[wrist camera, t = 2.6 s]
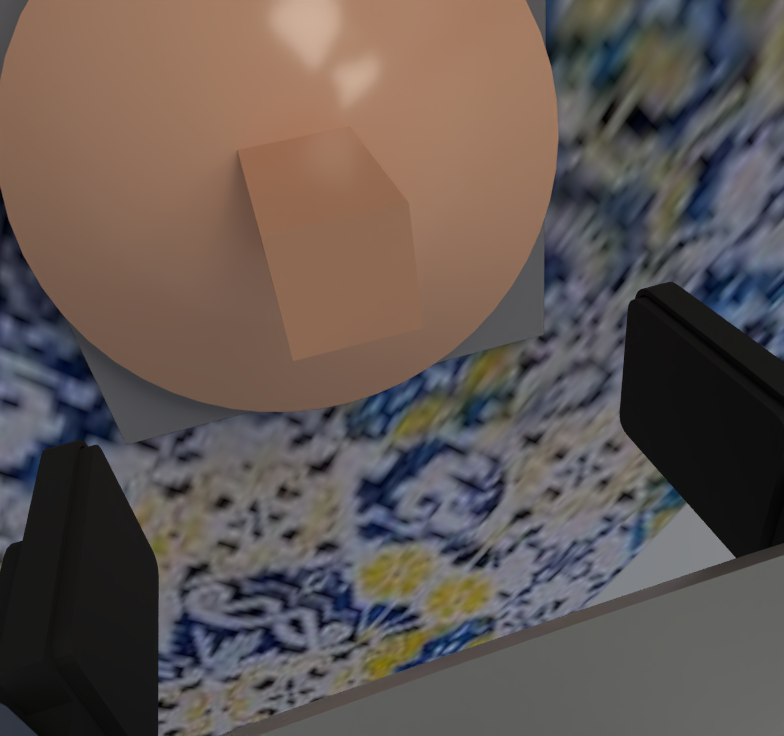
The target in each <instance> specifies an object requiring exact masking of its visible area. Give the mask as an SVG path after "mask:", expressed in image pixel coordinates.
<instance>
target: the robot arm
mask: <svg viewBox="0 0 784 736" xmlns="http://www.w3.org/2000/svg"><path fill="white" fill-rule="evenodd" d="M620 422H621V425H622V427H623V429H624V431H625V433H626V434H627V435H628V437H629V438H630V439H631V440H632V441H633V442H634V443H635V444H636V446H637V447H638V448H639V449H640V450H641V451H642V452H643V453H644V455H645V456H646V457H647V458H648V459H649V460H650V461H651V462H652V464H653V465H654V466H655V467H656V468H657V469H658V470H659V472H660V473H661V474H662V475H663V476H664V477H665V478H666V479H667V481H668V482H669V483H670V484H671V485H672V486H673V487H674V488H675V490H676V491H677V492H678V493H679V494H680V495H681V496H682V497H683V499H684V500H685V501H686V502H687V503H688V504H689V505H690V506H691V508H692V509H694V511H695V512H696V513H697V514H698V515H699V517H700V518H701V519H702V520H703V521H704V522H705V523H706V525H707V526H708V527H709V528H710V529H711V530H712V531H713V532H714V534H715V535H716V536H717V537H718V538H719V539H720V540H721V541H722V543H723V544H724V545H725V546H726V547H727V548H728V549H729V550H730V552H731V553H732V554H733V555H734V556H735V557H736V559H733V560H730V561H727V562H724V563H721V564H718V565H715V566H712V567H709V568H706V569H703V570H700V571H697V572H694V573H691V574H688V575H685V576H682V577H679V578H676V579H673V580H670V581H667V582H664V583H661V584H658V585H655V586H652V587H649V588H646V589H643V590H640V591H637V592H634V593H631V594H628V595H625V596H622V597H619V598H616V599H613V600H610V601H607V602H604V603H601V604H598V605H595V606H592V607H589V608H586V609H583V610H580V611H577V612H574V613H571V614H568V615H565V616H562V617H559V618H556V619H554V620H551V621H548V622H545V623H542V624H539V625H536V626H533V627H530V628H527V629H524V630H521V631H518V632H515V633H512V634H509V635H506V636H503V637H500V638H497V639H495V640H492V641H489V642H486V643H483V644H480V645H477V646H474V647H471V648H468V649H465V650H462V651H459V652H456V653H453V654H450V655H447V656H445V657H442V658H439V659H436V660H433V661H430V662H427V663H424V664H421V665H418V666H416V667H413V668H410V669H407V670H404V671H401V672H398V673H395V674H392V675H389V676H387V677H384V678H381V679H378V680H375V681H372V682H369V683H366V684H363V685H360V686H357V687H355V688H352V689H349V690H346V691H343V692H340V693H337V694H334V695H331V696H328V697H326V698H323V699H320V700H317V701H314V702H311V703H308V704H305V705H302V706H299V707H297V708H294V709H291V710H288V711H285V712H283V713H280V714H277V715H274V716H272V717H269V718H266V719H263V720H261V721H258V722H255V723H252V724H249V725H247V726H244V727H241V728H238V729H236V730H233V731H230V732H227V733H225V734H222V735H219V736H784V362H783V361H781V360H780V359H779V358H777V357H776V356H774V355H773V354H772V353H770V352H769V351H768V350H766V349H765V348H763V347H762V346H761V345H759V344H758V343H757V342H755V341H754V340H752V339H751V338H750V337H748V336H747V335H746V334H744V333H743V332H742V331H740V330H739V329H737V328H736V327H735V326H733V325H732V324H731V323H729V322H728V321H726V320H725V319H724V318H722V317H721V316H720V315H718V314H717V313H715V312H714V311H713V310H711V309H710V308H709V307H707V306H706V305H704V304H703V303H702V302H700V301H699V300H698V299H696V298H695V297H693V296H692V295H691V294H689V293H688V292H687V291H685V290H684V289H682V288H681V287H680V286H678V285H677V284H675V283H673V282H667V283H663V284H659V285H655V286H652V287H648V288H644V289H641V290H640V291H638V292H637V294H636V297H635V299H634V300H632V301H630V303H629V306H628V315H627V327H626V340H625V353H624V365H623V378H622V390H621V403H620ZM158 601H159V575H158V566H157V562H156V558H155V555H154V553H153V551H152V549H151V547H150V545H149V543H148V541H147V539H146V537H145V535H144V533H143V531H142V529H141V527H140V525H139V523H138V521H137V519H136V517H135V515H134V513H133V511H132V509H131V507H130V505H129V503H128V501H127V499H126V497H125V495H124V493H123V491H122V489H121V487H120V485H119V483H118V481H117V479H116V477H115V475H114V473H113V471H112V469H111V467H110V465H109V463H108V461H107V459H106V457H105V455H104V453H103V451H102V450H101V448H100V447H99V446H98V445H93V446H89V447H88V446H87V444H86V443H85V442H84V441H83V440H77V441H73V442H69V443H65V444H62V445H58V446H54V447H51V448H47V449H45V450H43V452H42V455H41V459H40V464H39V468H38V473H37V477H36V482H35V487H34V491H33V496H32V500H31V505H30V509H29V514H28V519H27V523H26V528H25V532H24V537H23V541H20V542H17V543H13V544H11V545H10V546H9V547H8V548H7V550H6V553H5V555H4V558H3V562H2V566H1V570H0V736H158Z"/></svg>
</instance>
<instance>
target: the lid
mask: <svg viewBox="0 0 784 736" xmlns="http://www.w3.org/2000/svg"><path fill="white" fill-rule="evenodd" d="M558 138H559V134H558V111H557V98H556V93H555V87H554V81H553V75H552V69H551V65H550V62H549V58H548V55H547V52H546V49H545V45H544V42H543V39H542V36H541V32H540V30H539V28H538V26H537V24H536V21H535V19H534V17H533V15H532V13H531V11H530V8H529V6H528V4H527V2H526V0H29V1H28V2H27V4H26V6H25V8H24V9H23V11H22V13H21V15H20V17H19V20H18V23H17V25H16V28H15V31H14V34H13V36H12V39H11V42H10V44H9V47H8V50H7V53H6V55H5V59H4V64H3V69H2V74H1V79H0V187H1V191H2V195H3V199H4V203H5V207H6V211H7V215H8V219H9V222H10V224H11V227H12V229H13V231H14V234H15V236H16V239H17V241H18V244H19V246H20V249H21V251H22V253H23V256H24V257H25V259H26V261H27V263H28V264H29V266H30V268H31V270H32V271H33V273H34V275H35V277H36V278H37V280H38V282H39V283H40V285H41V287H42V288H43V290H44V291H45V292H46V294H47V295H48V296H49V297H50V299H51V300H52V301H53V303H54V304H55V305H56V307H57V308H58V309H59V311H60V312H61V313H62V314H63V316H64V317H65V318H66V319H67V320H68V321H69V322H70V323H71V324H72V325H73V326H74V327H75V328H76V329H77V330H78V331H79V332H80V333H81V334H82V335H83V336H84V337H85V338H86V339H87V340H88V341H89V342H90V343H92V344H93V345H94V346H96V347H97V348H98V349H99V350H101V351H102V352H103V353H104V354H106V355H107V356H108V357H109V358H111V359H112V360H113V361H115V362H116V363H118V364H119V365H121V366H123V367H124V368H126V369H128V370H129V371H131V372H132V373H134V374H136V375H137V376H139V377H141V378H142V379H144V380H146V381H148V382H151V383H153V384H155V385H157V386H159V387H161V388H164V389H166V390H168V391H170V392H172V393H175V394H178V395H181V396H184V397H187V398H190V399H193V400H196V401H199V402H203V403H207V404H212V405H217V406H221V407H226V408H231V409H239V410H249V411H258V412H295V411H304V410H313V409H322V408H327V407H331V406H336V405H341V404H345V403H350V402H353V401H356V400H359V399H362V398H365V397H368V396H372V395H375V394H378V393H380V392H382V391H384V390H387V389H389V388H391V387H393V386H396V385H398V384H400V383H403V382H404V381H406V380H408V379H410V378H412V377H413V376H415V375H417V374H419V373H420V372H422V371H424V370H426V369H427V368H429V367H430V366H432V365H433V364H435V363H436V362H437V361H439V360H440V359H442V358H443V357H444V356H446V355H447V354H449V353H450V352H451V351H453V350H454V349H455V348H456V347H457V346H458V345H460V344H461V343H462V342H463V341H464V340H465V339H466V338H468V337H469V336H470V335H471V334H472V333H473V332H474V331H475V330H476V329H477V328H478V327H479V326H480V325H481V324H482V323H483V321H484V320H485V319H486V318H487V317H488V316H489V315H490V314H491V313H492V312H493V311H494V309H495V308H496V307H497V305H498V304H499V303H500V301H501V300H502V299H503V297H504V296H505V295H506V293H507V292H508V291H509V289H510V288H511V287H512V285H513V283H514V282H515V280H516V278H517V277H518V275H519V273H520V271H521V270H522V268H523V266H524V265H525V263H526V261H527V259H528V257H529V255H530V253H531V251H532V248H533V246H534V244H535V242H536V239H537V237H538V235H539V233H540V230H541V227H542V224H543V221H544V218H545V214H546V211H547V208H548V205H549V202H550V197H551V192H552V187H553V182H554V177H555V172H556V163H557V150H558Z"/></svg>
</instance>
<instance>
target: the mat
mask: <svg viewBox="0 0 784 736" xmlns="http://www.w3.org/2000/svg"><path fill="white" fill-rule="evenodd" d="M28 1H29V0H0V79H1V74H2V69H3V64H4V59H5V55H6V53H7V50H8V47H9V44H10V42H11V39H12V36H13V34H14V31H15V28H16V25H17V23H18V20H19V17H20V15H21V13H22V11H23V9H24V8H25V6H26V4H27V2H28ZM526 2H527V4H528V6H529V8H530V11H531V13H532V15H533V17H534V19H535V21H536V24H537V26H538V28H539V30H540V32H541V36H542V39H543V42H544V45H545V20H546V0H526ZM67 321H68V320H67ZM68 324H69V326H70V328H71V330H72V332H73V334H74V336H75V338H76V340H77V342H78V344H79V347H80V349H81V351H82V353H83V355H84V357H85V359H86V361H87V363H88V365H89V367H90V369H91V372H92V374H93V376H94V378H95V380H96V382H97V384H98V386H99V388H100V390H101V392H102V395H103V397H104V399H105V401H106V403H107V405H108V407H109V409H110V411H111V413H112V415H113V417H114V420H115V422H116V424H117V426H118V428H119V430H120V432H121V434H122V436H123V438H124V440H125V443H126V445H127V444H131V443H134V442H138V441H142V440H146V439H149V438H153V437H157V436H161V435H165V434H168V433H172V432H176V431H180V430H184V429H187V428H191V427H195V426H199V425H203V424H206V423H210V422H214V421H218V420H222V419H225V418H229V417H233V416H237V415H241V414H244V413H248V412H252V411H249V410H239V409H231V408H226V407H221V406H217V405H212V404H207V403H203V402H199V401H196V400H193V399H190V398H187V397H184V396H181V395H178V394H175V393H172V392H170V391H168V390H166V389H164V388H161V387H159V386H157V385H155V384H153V383H151V382H148V381H146V380H144V379H142V378H141V377H139V376H137V375H136V374H134V373H132V372H131V371H129V370H128V369H126V368H124V367H123V366H121V365H119V364H118V363H116V362H115V361H113V360H112V359H111V358H109V357H108V356H107V355H106V354H104V353H103V352H102V351H101V350H99V349H98V348H97V347H96V346H94V345H93V344H92V343H90V342H89V341H88V340H87V339H86V338H85V337H84V336H83V335H82V334H81V333H80V332H79V331H78V330H77V329H76V328H75V327H74V326H73V325H72V324H71V323H70V322H69V321H68ZM540 335H544V221H543V224H542V227H541V230H540V233H539V235H538V237H537V239H536V242H535V244H534V246H533V248H532V251H531V253H530V255H529V257H528V259H527V261H526V263H525V265H524V266H523V268H522V270H521V271H520V273H519V275H518V277H517V278H516V280H515V282H514V283H513V285H512V287H511V288H510V289H509V291H508V292H507V293H506V295H505V296H504V297H503V299H502V300H501V301H500V303H499V304H498V305H497V307H496V308H495V309H494V311H493V312H492V313H491V314H490V315H489V316H488V317H487V318H486V319H485V320H484V321H483V323H482V324H481V325H480V326H479V327H478V328H477V329H476V330H475V331H474V332H473V333H472V334H471V335H470V336H469V337H468V338H466V339H465V340H464V341H463V342H462V343H461V344H460V345H458V346H457V347H456V348H455V349H454V350H453V351H451V352H450V353H449V354H447V355H446V356H444V357H443V358H442V359H440V360H439V361H437V362H436V363H438V362H442V361H445V360H449V359H453V358H457V357H460V356H464V355H468V354H472V353H476V352H479V351H483V350H487V349H491V348H495V347H498V346H502V345H506V344H510V343H514V342H517V341H521V340H525V339H529V338H533V337H536V336H540Z"/></svg>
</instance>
